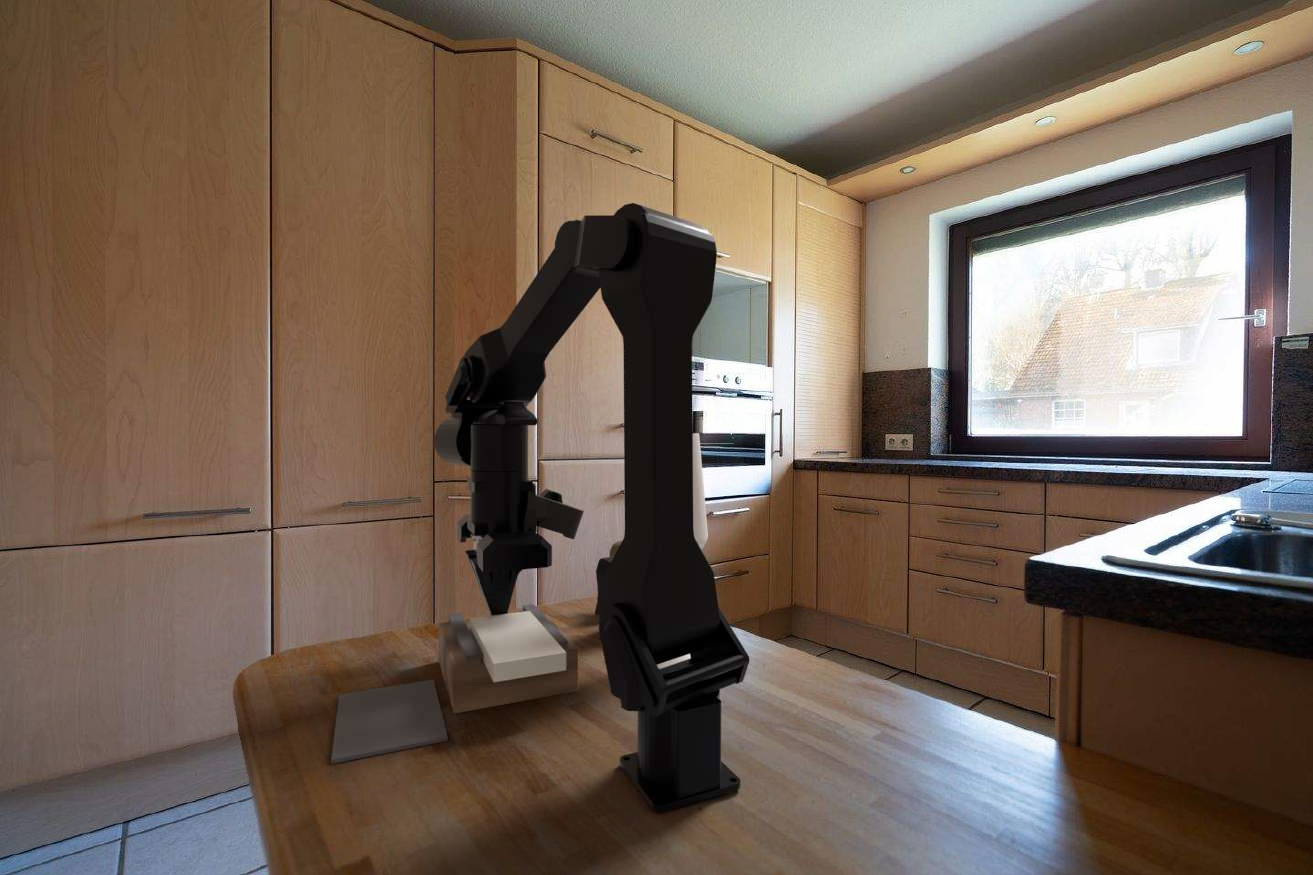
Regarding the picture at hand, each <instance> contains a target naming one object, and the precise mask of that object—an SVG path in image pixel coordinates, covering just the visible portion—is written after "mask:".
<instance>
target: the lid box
mask: <svg viewBox="0 0 1313 875" xmlns="http://www.w3.org/2000/svg"><path fill="white" fill-rule="evenodd" d="M525 611H530V612H531V613H532V614H533V615H534V616H535V617H536V618H537V620H538V621H539V622H540V623H541V624H542V625H543V626H544V628H545V629H546V630H547V631H548V632H549V633H550V634H551V636H552V637H553V638H554V639H555V640H556V641H557V642H558V644H559V645H560V646H561V647H562V648H563V649H564V650H565V652H566V670H565V671H559V672H553V673H547V674H541V675H535V676H529V677H523V678H517V679H511V680H505V681H499V682H493V680H492V678H491V676H490V674H489V672H488V670H487V668H486V666H485V664H484V661H483V659H482V657H481V653H480V651H479V649H478V647H477V645H476V643H475V641H474V639H473V637H472V635H471V633H470V618H469V619H464V617H463V615H462V613H461V612H459V613H450V614H448V621H445V622H439V623H438V664H439V667H440V671H441V673H442V677H443V680H444V683H445V688H446V692H447V695H448V698H449V701H450V704H451V708H452V712H453V714H460V713H464V712H465V713H466V712H470V711H477V710H481V709H487V708H492V707H499V706H503V705H508V704H515V703H519V702H524V701H529V700H536V699H541V698H546V697H552V696H558V695H562V694H569V693H574V692H578V691H579V647H577V645H576V644H575V643H574V642H573V641H572V639H570V638H569V637H568V636H567V635H566V633H564V631H562V629H561V628H559V626H558V625H557V624H556V623H555V622H554V621H553V620H552V618H550V617H549V616H548V615H547V614H546V613H545V612H544V611H543V610H539V608H538V607H537V606H535V604H534V603H533V604H526V605H522V612H525Z"/></svg>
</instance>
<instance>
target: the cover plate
mask: <svg viewBox="0 0 1313 875" xmlns="http://www.w3.org/2000/svg"><path fill="white" fill-rule="evenodd" d="M469 619H470V633H471V635H472V637H473V639H474V641H475V643H476V645H477V647H478V649H479V651H480V653H481V657H482V659H483V661H484V664H485V666H486V668H487V670H488V672H489V674H490V676H491V678H492V680H493V682H499V681H505V680H511V679H517V678H523V677H529V676H535V675H541V674H547V673H553V672H559V671H565V670H566V652H565V650H564V649H563V648H562V647H561V646H560V645H559V644H558V642H557V641H556V640H555V639H554V638H553V637H552V636H551V634H550V633H549V632H548V631H547V630H546V629H545V628H544V626H543V625H542V624H541V623H540V622H539V621H538V620H537V618H536V617H535V616H534V615H533V614H532V613H531V612H530V611H525V612H523V611H519V612H511V613H509V612H508V613H507V614H501V615H492V616H491V615H485V616H477V617H469Z"/></svg>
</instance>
